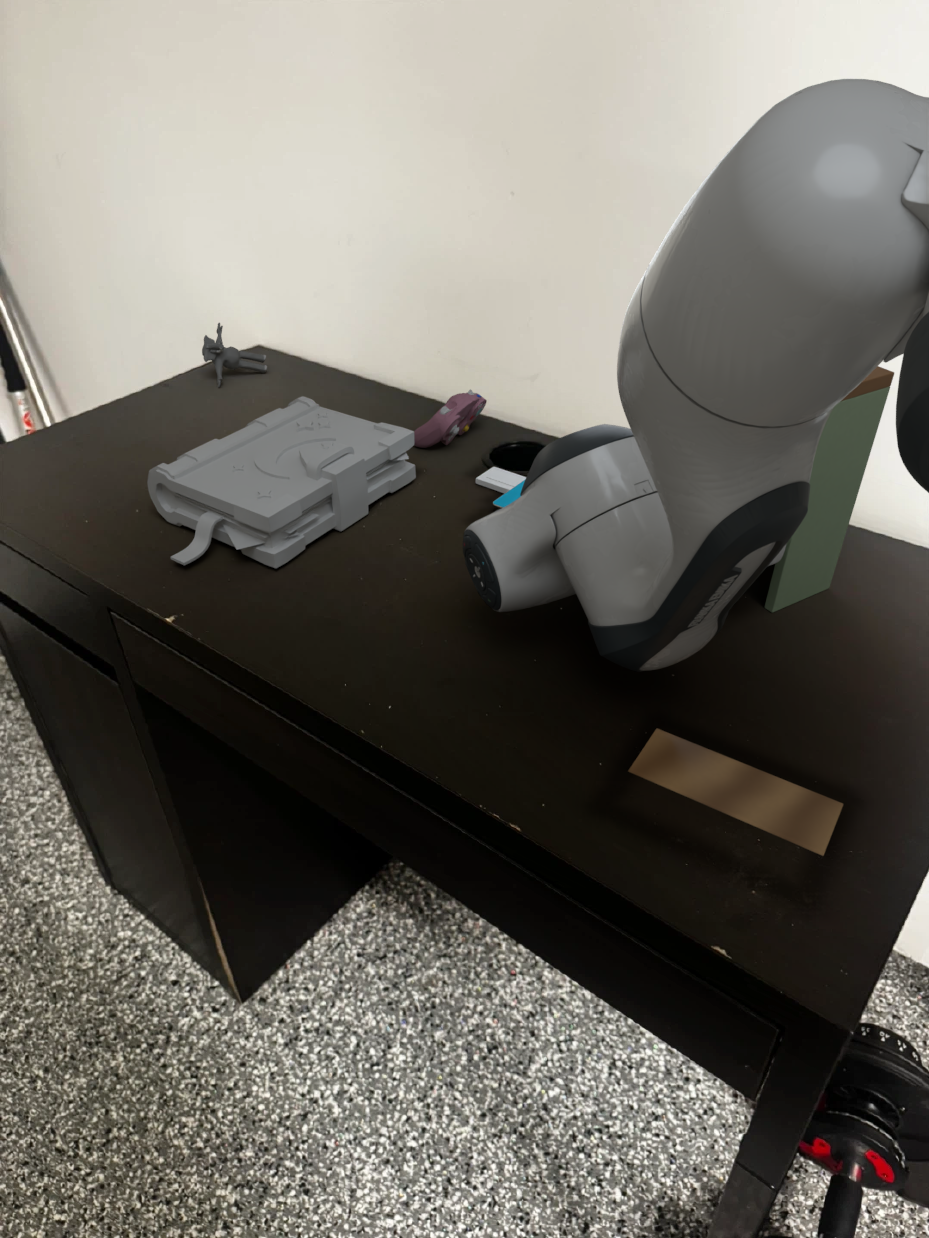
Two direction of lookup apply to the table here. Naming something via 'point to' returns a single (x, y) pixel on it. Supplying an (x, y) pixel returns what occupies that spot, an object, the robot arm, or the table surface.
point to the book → (281, 481)
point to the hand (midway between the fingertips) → (744, 481)
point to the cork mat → (739, 790)
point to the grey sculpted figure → (229, 356)
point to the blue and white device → (502, 485)
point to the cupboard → (831, 493)
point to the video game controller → (450, 420)
